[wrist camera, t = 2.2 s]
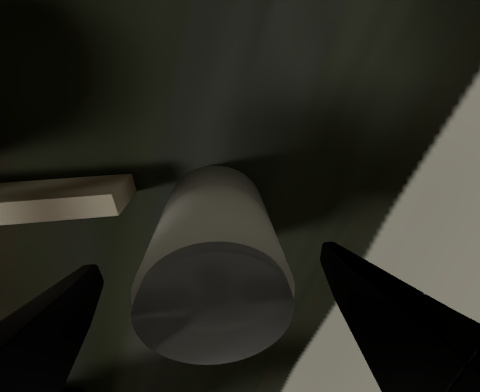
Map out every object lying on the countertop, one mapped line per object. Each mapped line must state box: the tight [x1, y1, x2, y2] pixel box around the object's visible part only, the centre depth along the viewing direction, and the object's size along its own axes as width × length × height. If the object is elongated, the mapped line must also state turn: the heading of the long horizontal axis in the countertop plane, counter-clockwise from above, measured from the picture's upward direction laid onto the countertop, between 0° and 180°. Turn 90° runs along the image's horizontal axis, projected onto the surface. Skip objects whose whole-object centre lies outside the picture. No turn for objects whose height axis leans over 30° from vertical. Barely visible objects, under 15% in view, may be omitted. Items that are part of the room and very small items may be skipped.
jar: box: [131, 166, 295, 365], centre depth 10 cm, size 5×5×7 cm
